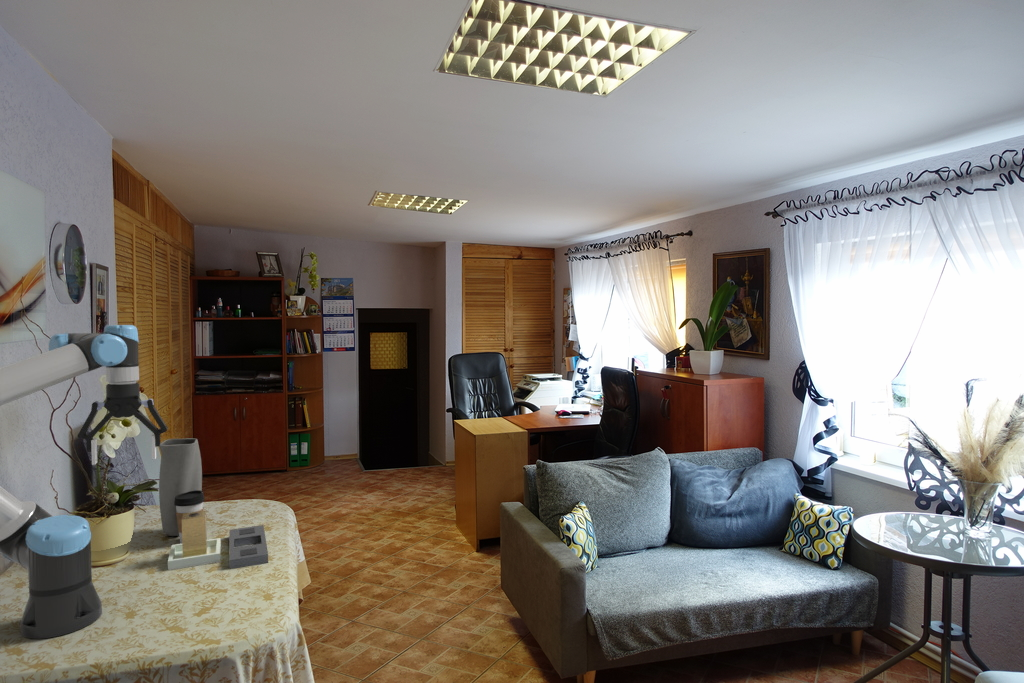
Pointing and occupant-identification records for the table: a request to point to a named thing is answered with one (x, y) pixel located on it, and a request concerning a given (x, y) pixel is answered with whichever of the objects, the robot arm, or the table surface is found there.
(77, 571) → the robot arm
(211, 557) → the parts tray
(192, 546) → the block
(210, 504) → the table surface
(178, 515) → the coffee cup
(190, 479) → the vase
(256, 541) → the rail
